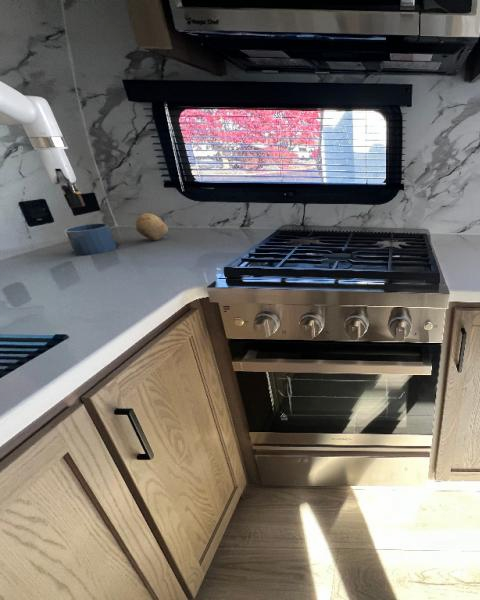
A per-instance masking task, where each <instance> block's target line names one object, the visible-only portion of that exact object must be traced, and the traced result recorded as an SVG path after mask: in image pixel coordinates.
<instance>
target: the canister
mask: <svg viewBox="0 0 480 600" xmlns="http://www.w3.org/2000/svg"><path fill="white" fill-rule="evenodd" d="M63 231H64V234H65V236H66V238H67V240H68V242H69V244H70V246H71V248H72V250H73V252H74V254H75V255H76V256H79V257H80V256H83V257H84V256H92V255H93V256H94V255H99V254H104V253H108V252H112V251H114V250H117V248H118V245H117V242H116V240H115V238H114V234H113V233H112V230H111V227H110V226H109V224H108V223H104V222H103V223H98V222H97V223H89V224H82V225H76V226H72V227H68V228H66V229H64V230H63Z"/></svg>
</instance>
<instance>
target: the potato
mask: <svg viewBox="0 0 480 600" xmlns="http://www.w3.org/2000/svg"><path fill="white" fill-rule="evenodd" d="M135 229H136V232H138V233H139V234H140V235H141V236H143V237H145V238H147V239H148V240H151V241H158V240H160V239H162V237H164V236H165V235H166V234H168V231H169V228H168V226H167V224H166V223H165V222H164V221H163V220H162V219H161V218H160V217H158V216H157V215H155V214H153V213H150V212H149V213H148V212H146V213H141V214H140V215H139V216H138V217H137V218H136V221H135Z"/></svg>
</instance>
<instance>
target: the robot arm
mask: <svg viewBox="0 0 480 600" xmlns="http://www.w3.org/2000/svg"><path fill="white" fill-rule="evenodd" d="M12 125H22V127H23V129H24V132H25V133H26V135H27V137H28V139H29V141H30V144H31V146H32V148H33V150H34V151H38V152H39V156H40V158H41V160H42V163H43V166H44V168H45V170H46V173H47V175H48V178H49V180H50V182H51V183H52V185H54V186H58V185H59V186H60V189H61V191H62V195H63V194H64V195H63V196H64V199H65V201H66V202H67V205H68V207H69V208H70V209H74V208H83V207H84V206H83V205H82V203H81V200H80V198H79V196H78V194H76V192H75V191H79V189H78V186H77V185H76V181H77V176H76V174H75V172H74V168H73V167H72V164H71V163H70V160H69V158H68V155H67V154H66V151H65V150H68V149H69V146H68V145H67V142H66V140H65V138H64V136H63V133H62V131H61V129H60V127H59V124H58V122H57V119H56V118H55V115H54V112H53V110H52V108H51V106H50V104H49V102H48V101H47V99H45V98H44V97H43V96H36V95H25V94H23V93H22V92H19V91H18V90H16V89H15V88H13V87H12V86H10V85H8V84H6V83H4V82H3V81H1V80H0V126H12ZM80 195H81V197H82V199H83V196H82V193H80ZM83 202H84V204H85V201H84V199H83ZM85 205H86V204H85Z"/></svg>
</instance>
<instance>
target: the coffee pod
mask: <svg viewBox="0 0 480 600" xmlns="http://www.w3.org/2000/svg"><path fill="white" fill-rule="evenodd" d="M75 192H76V194H78V196H79V198H80V200H81V203H82V205H83V206H82V207H86V204H84V203H85V201H84V199H82V198H83V196H82V191H79V190H78V191H75ZM80 194H81V195H80ZM62 195H63V196H64V194H63V193H62ZM81 196H82V197H81ZM83 201H84V202H83Z"/></svg>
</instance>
